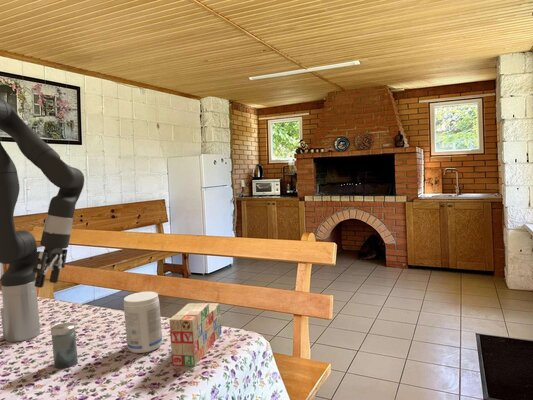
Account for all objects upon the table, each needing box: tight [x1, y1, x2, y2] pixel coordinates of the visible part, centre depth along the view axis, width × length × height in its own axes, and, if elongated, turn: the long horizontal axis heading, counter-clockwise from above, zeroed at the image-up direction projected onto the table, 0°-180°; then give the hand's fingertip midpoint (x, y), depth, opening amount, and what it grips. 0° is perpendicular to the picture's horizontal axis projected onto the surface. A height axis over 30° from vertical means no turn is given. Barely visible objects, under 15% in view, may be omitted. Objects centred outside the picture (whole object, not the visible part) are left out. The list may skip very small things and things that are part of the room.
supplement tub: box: [123, 291, 163, 354], centre depth 111 cm, size 10×10×15 cm
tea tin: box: [50, 322, 79, 370], centre depth 103 cm, size 6×6×10 cm
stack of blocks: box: [168, 302, 222, 367], centre depth 109 cm, size 21×6×12 cm, turn 168°
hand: (46, 284), depth 118 cm, fingers open, 8 cm apart
